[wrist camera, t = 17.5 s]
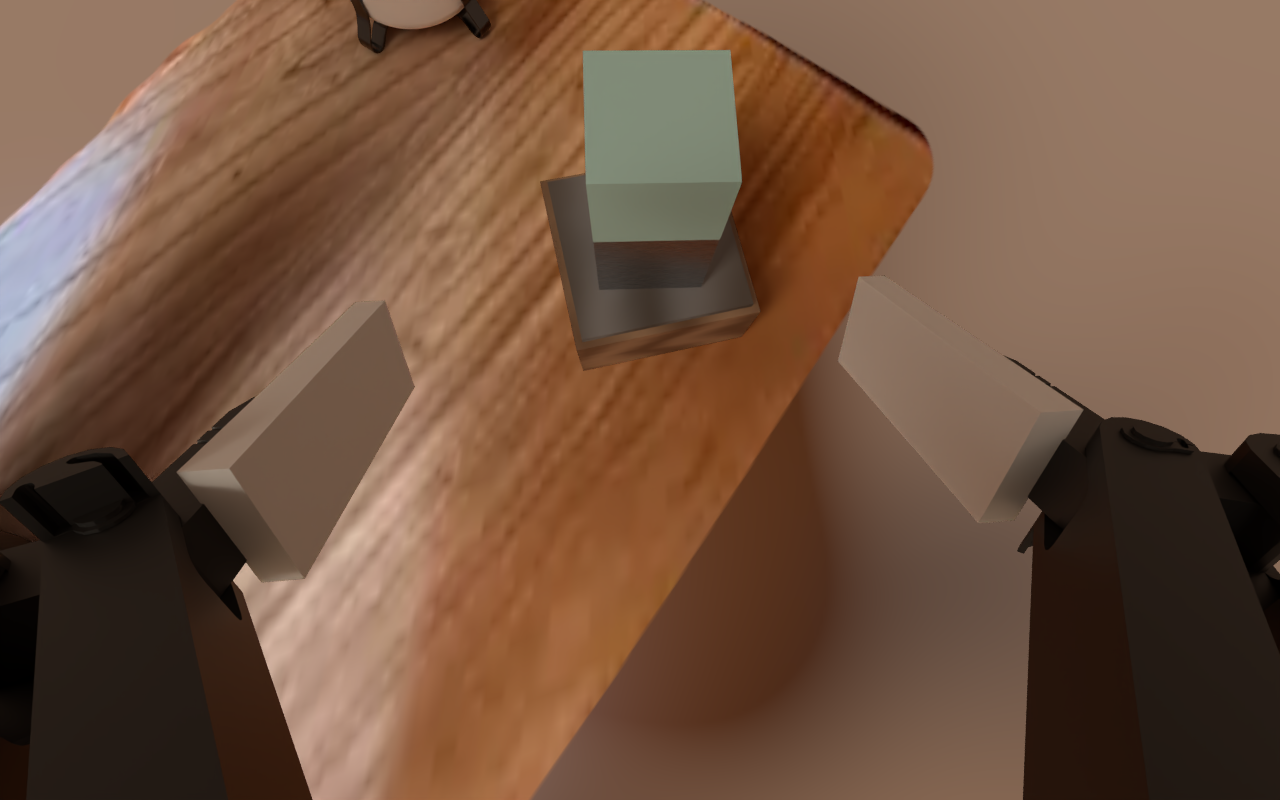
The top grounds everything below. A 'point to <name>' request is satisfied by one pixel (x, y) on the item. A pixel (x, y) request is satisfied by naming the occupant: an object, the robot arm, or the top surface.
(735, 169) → the lid
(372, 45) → the coffee press
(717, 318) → the walnut stand
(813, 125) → the top surface
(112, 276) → the top surface
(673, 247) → the base
